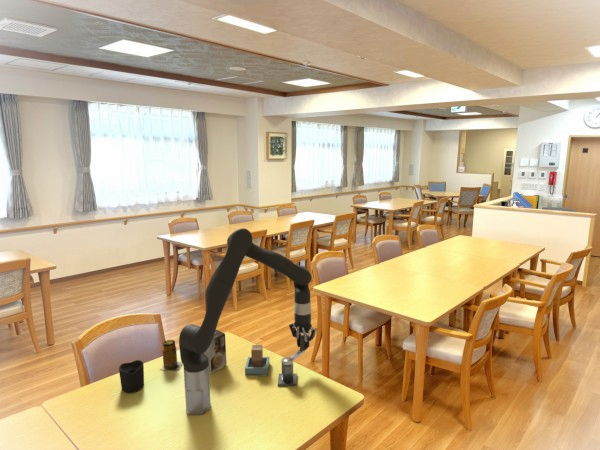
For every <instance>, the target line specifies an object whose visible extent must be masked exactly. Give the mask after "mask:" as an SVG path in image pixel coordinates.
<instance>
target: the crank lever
mask: <svg viewBox="0 0 600 450" xmlns="http://www.w3.org/2000/svg"><path fill="white" fill-rule="evenodd" d="M306 350H307V349H305V337H304V335H303V334H301V336H300V347H299V349H298V350H297V351H296V352H294V353H293V354H291V355H290V356H284V357H282V358H281V366H282V365H284V366H291V365H293V366H294V361H295V360H296V359H297V358H299V357H300V356H301V355H303V354H305V352H306Z"/></svg>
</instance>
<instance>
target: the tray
mask: <svg viewBox="0 0 600 450" xmlns="http://www.w3.org/2000/svg"><path fill="white" fill-rule="evenodd" d="M269 367H270V356H263V367H252V356H247V358H246V363H245V365H244V376H245V377H246V376H253V377H254V376H255V377H256V376H266V377H267V376H269V375H268V374H269V370H270V368H269Z"/></svg>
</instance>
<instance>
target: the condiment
mask: <svg viewBox="0 0 600 450" xmlns="http://www.w3.org/2000/svg"><path fill="white" fill-rule="evenodd" d="M161 351H162V362H163V365H162V367H161V368H160V371H178V370H180V369H181V367H182V366H183V364H182V361H178V357H177V356H178V355H177V354H178V353H177V345H176V341H175V340H174V339H166V340H164V341H163V343H162V349H161Z"/></svg>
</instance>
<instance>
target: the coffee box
mask: <svg viewBox="0 0 600 450" xmlns="http://www.w3.org/2000/svg"><path fill="white" fill-rule="evenodd" d="M226 347H227V346H226V333H225V332H223V331H221V330H218V329H216V330H215V334H214V337H213V340H212V342H211V344H210V346H209V348H208V349H207V351H205V352H204V354H205V355H206V356H207V357H208V361H209V374H213V373H215V372H217V371H218V370H220V369H222V368H224V367H226V366H227V348H226Z"/></svg>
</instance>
